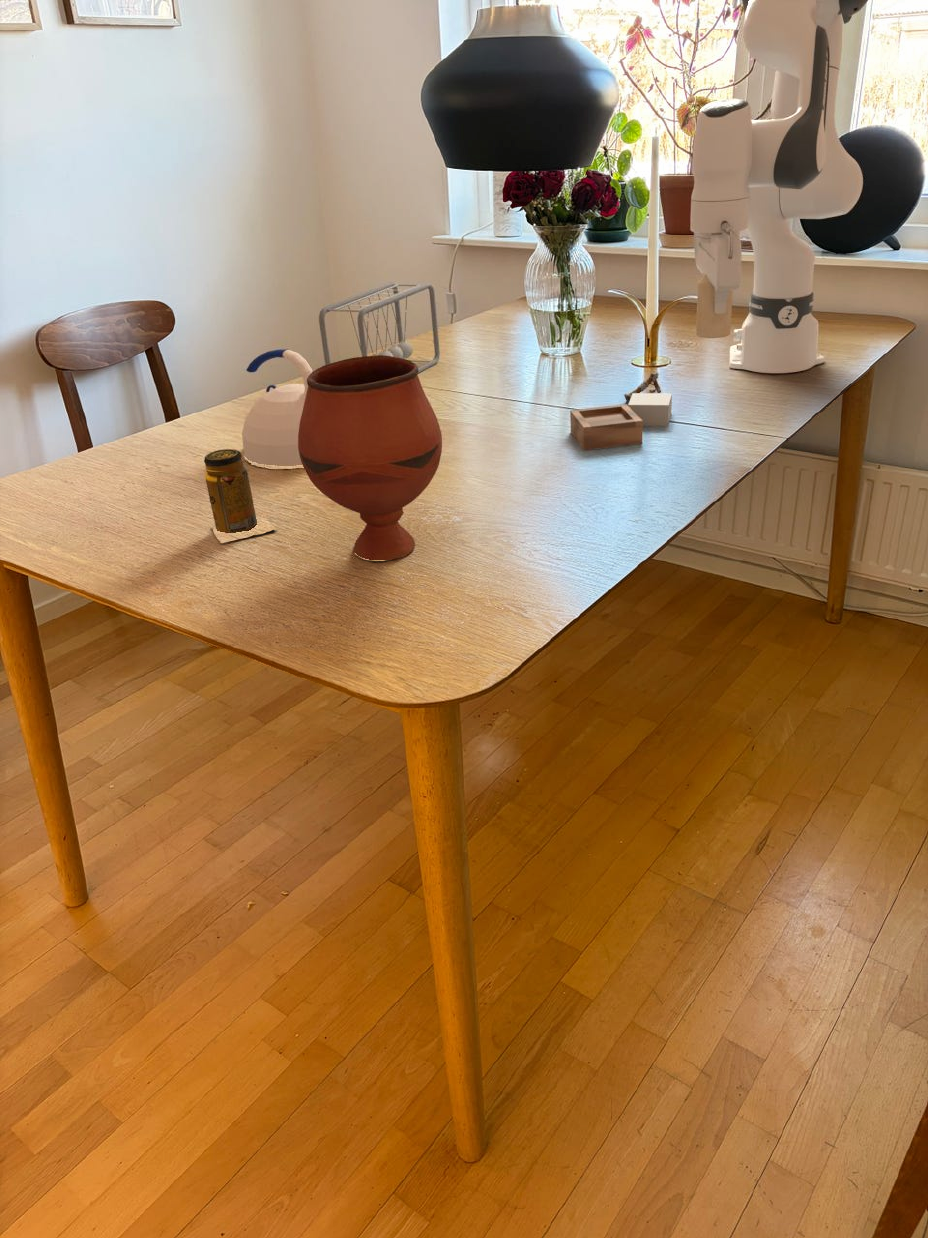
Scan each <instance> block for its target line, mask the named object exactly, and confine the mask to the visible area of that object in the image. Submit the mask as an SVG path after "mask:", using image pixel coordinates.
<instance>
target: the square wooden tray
mask: <svg viewBox="0 0 928 1238" xmlns="http://www.w3.org/2000/svg"><path fill="white" fill-rule="evenodd" d="M569 413H570V417H569V418H570V419H569V420H570V422H569V423H570V433H571V434H572V435H571V436H573V438H574V439H575V440H576V442H577V443H578V444H579V446H580V447H581V448H582V449H583V451H590V450H600V449H607V448H617V447H625V446H633V445H642V444H643V432H644V431H643V429H644V428H643V420H642V419H641V418H640V417H639V416H638V415H637V414H636V413H635V412H634V411H633V410H632V409H631V408H630V407H629V406H628V404H627V403H622V404H614V405H604V406H597V407H596V406H595V407H586V408H579V409H570V411H569Z"/></svg>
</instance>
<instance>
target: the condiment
mask: <svg viewBox="0 0 928 1238" xmlns="http://www.w3.org/2000/svg"><path fill="white" fill-rule="evenodd" d="M242 456H243V455H242V453H241V452H240V451H239V450H238V449H234V448H233V449H230V448H225V449H218V450H213V451H211V452H209V453H207V454H206V455H205V456H204V459H203V462H204V465H205V471H206V473H205V483H206V488H207V493H208V498H209V502H210V507H211V511H212V517H213V520H214V525H215V527H216V529H217V531H220V532H225V533H236V532H242V531H249V530H251V529H252V528H254V527H255V526H256V525H257V519H256V517H257V515H256V509H255V504H254V499H253V494H252V489H251V484H250V478H249V473H248V470H247V469H246V467H245V466H244V465H245V463H244V461H243V458H242Z"/></svg>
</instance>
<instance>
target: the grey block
mask: <svg viewBox="0 0 928 1238" xmlns="http://www.w3.org/2000/svg"><path fill="white" fill-rule="evenodd" d="M672 398H673V393H672V392H671V393H670V392H668V393H667V392H666V393H665V392H664V393H663V392H661V393H655V392H654V393H648V392H647V393H646V392H644V393H643V392H640V393H633V394H632V396H631V399H630V401H629V402H628V404H627V405H628V406H629V407H630V408H631V409H632V410H633V411H634V412H635V413H636V414H637V415H638V416H639V417H640V418H641V419H642V420H643V426H644V427H649V426H650V427H651V426H652V427H669V423H670V421H671V416H672V403H673V402H672V401H673V399H672Z"/></svg>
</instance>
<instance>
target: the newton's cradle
mask: <svg viewBox="0 0 928 1238" xmlns="http://www.w3.org/2000/svg"><path fill="white" fill-rule="evenodd" d="M399 287H411V288H408V289H401V291H400V292H399ZM427 289H428V292H429V300H430V301H429V302H430V303H429V305H430V313H431V314H430V315H431V325H432V326H431V327H432V335H433V348H434V349H433V350H434V357H433V359H432V360H421V359H420V360H419V359H409V358H410V357H411V356H412V354H413V350H414V349H413V345H412V344H411V343H410V342H409V341H407V340H406V336H404V333H403V324H402V314H401V313H402V312H401V305H400V300H403V299H405V309H407V305H408V303H407V302H408V297H410V296H412V295H415V294H418V293H420V292H423V291H425V290H427ZM390 290H392V291H393V293H392V295H391V294H390V292H389V291H390ZM384 292H387V295H388V297H380V295H386V293H384ZM435 293H436V292H435V288H434V285H433V284H431V283H430V282H426V283H423V284H413V283H412V284H409V283H407V284H406V283H394V282H393V281H391V282H388V283H385V284H383V285H380V286H377V287H375V288H374V287H373V288H371V289H369V290H367V291H364V292H361V293H358V294H356V295H353V296H351V297H348V298H345V299H343V300H340V301H338V302H334V303H332V304H329V305H327V306H324V307H323V308H321V310H320V312H319V314H318V324H319V329H320V337H321V345H322V352H323V358H324V359H323V360H324V365H328V364H330V363H331V357H330V350H329V343H328V342H329V341H328V336H327V329H326V323H325V322H326V321H325V320H326V319H325V317H326V314H327V313H330V312H341V313H342V312H346V313H350V316H351V320H352V325H353V327H354V331H355V335H356V337H357V341H358V346H359V348H360V353H361V357H365V356H368V347H367V343H368V341H369V345H370V346H369V347H370V350H371V352H372V355H371V356H374V355H385V356H392V357H398V358H403V359H406V360H407V359H408V360H409V361H411V362H413V363H424V364H422V365H421V366H419V367H418V366H417V367H418V374H421V373H422V372H424V371H426V370H428V369H429V368H431V367H434V366H435V365H436V364H438V363H439V360H440V356H441V354H440V353H441V352H440V351H441V350H440V340H439V339H440V338H439V328H438V317H437V315H438V314H437V305H436V303H437V302H436V294H435ZM376 295H377V296H376ZM390 295H391V296H390ZM375 296H376V297H375ZM370 298H374V299H375V298H376V299H379V300H378V301H377V300H376V301H375V300H374V301H371V300H370ZM366 299H368V300H366ZM360 302H362V303H363V302H367V303H369V304H368V305H366V304H365V305H362V304H360ZM356 303H358V305H357V304H356ZM355 304H356V305H355ZM393 304H394V307H393ZM389 305H391V308H392V312H393V316H394V319H395V324H396V327H395V331H394V333H395V334H394V342H396V338H398V339H397V340H398V343H397V345H396V344H393V342H392V340H391V339H392V338H391V336H390V335H391V334H390V332H389V331H390V330H389V327H388V318H389V317H388V316H389V315H388V314H389ZM350 306H354V307H355V306H356V307H359V308H358V309H351V308H350ZM386 306H387V308H386V309H387V310H386V315H385V312H384V309H383V307H386ZM345 307H348V309H344V308H345ZM379 309H381V311H382V315H383V318H384V322H385V326H386V329H385V342H387V336H388V337H389V340H390V344H391V345H390V346H389V347H388V349H387V345H385V349H384V348H383V344H382V340H381V337H380V333H379V330H378V328H379V315H376V316H377V319H376V318H375V315H374V314H375V313H374V311H376V310H377V312H379ZM394 309H395V311H394ZM352 313H358V315H357V328H358V333H357V330H356V326H355V322H354V318H353V315H352ZM369 313H372V316H373V320H374V324H375V327H376V334H377V336H378V338H379V341H380V346H381V351H380V352H378V351H377V350H378V338H376V343H375V344H376V345H375V353H374V350H373V346H372V342H371V340H370V336H369V322H365V318H364V317H365V315H366V314H367V317H370V316H369ZM404 319H405V320H404V331H406V326H407V313H405V318H404ZM376 321H377V322H376ZM366 323H367V325H366ZM365 331H366V333H365ZM387 334H388V335H387ZM396 336H397V337H396ZM377 352H378V353H377Z"/></svg>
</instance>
